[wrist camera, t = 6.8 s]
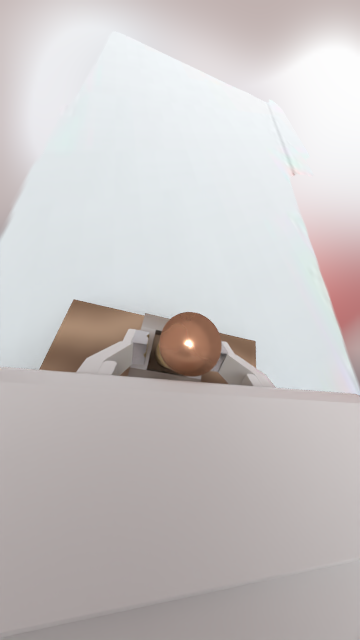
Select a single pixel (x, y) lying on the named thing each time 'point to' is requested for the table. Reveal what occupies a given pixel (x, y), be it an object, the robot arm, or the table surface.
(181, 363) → the brass copper-topped peg
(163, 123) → the table surface
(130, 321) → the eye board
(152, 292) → the table surface
